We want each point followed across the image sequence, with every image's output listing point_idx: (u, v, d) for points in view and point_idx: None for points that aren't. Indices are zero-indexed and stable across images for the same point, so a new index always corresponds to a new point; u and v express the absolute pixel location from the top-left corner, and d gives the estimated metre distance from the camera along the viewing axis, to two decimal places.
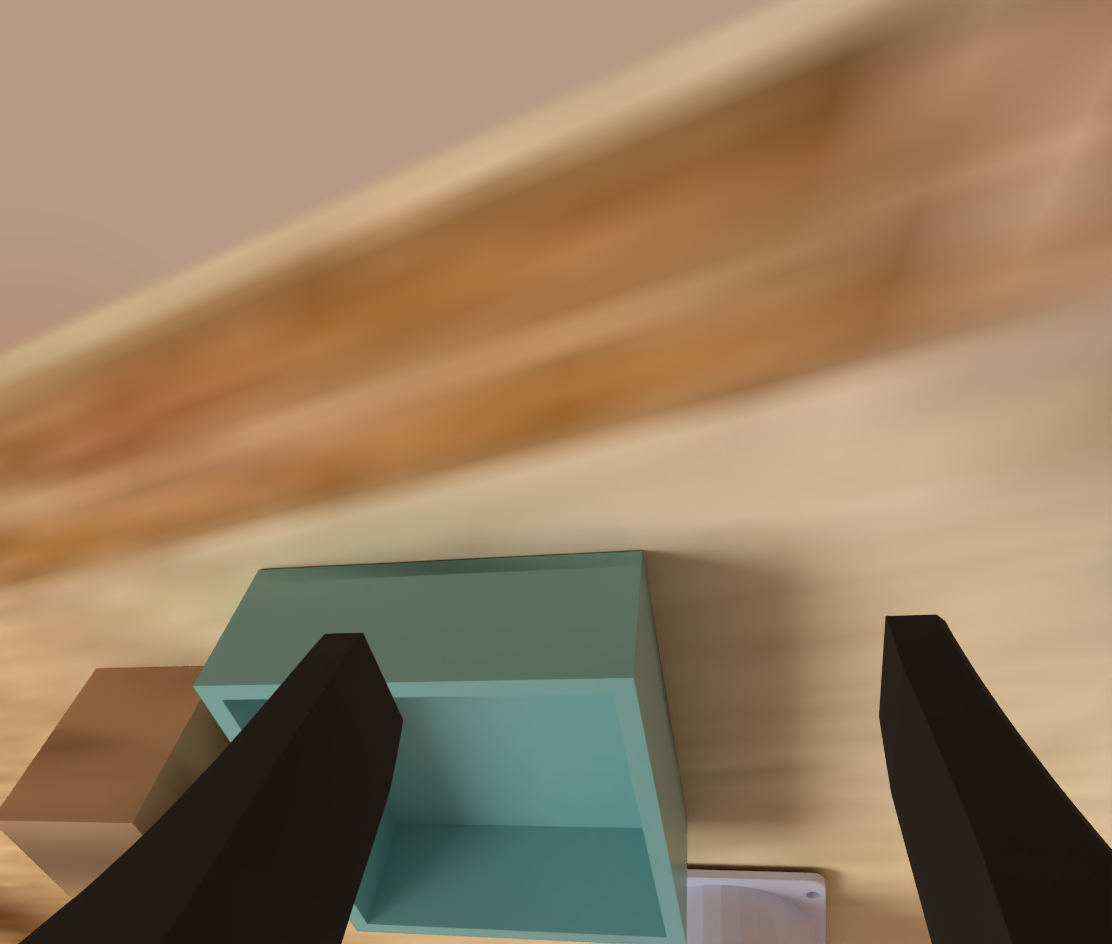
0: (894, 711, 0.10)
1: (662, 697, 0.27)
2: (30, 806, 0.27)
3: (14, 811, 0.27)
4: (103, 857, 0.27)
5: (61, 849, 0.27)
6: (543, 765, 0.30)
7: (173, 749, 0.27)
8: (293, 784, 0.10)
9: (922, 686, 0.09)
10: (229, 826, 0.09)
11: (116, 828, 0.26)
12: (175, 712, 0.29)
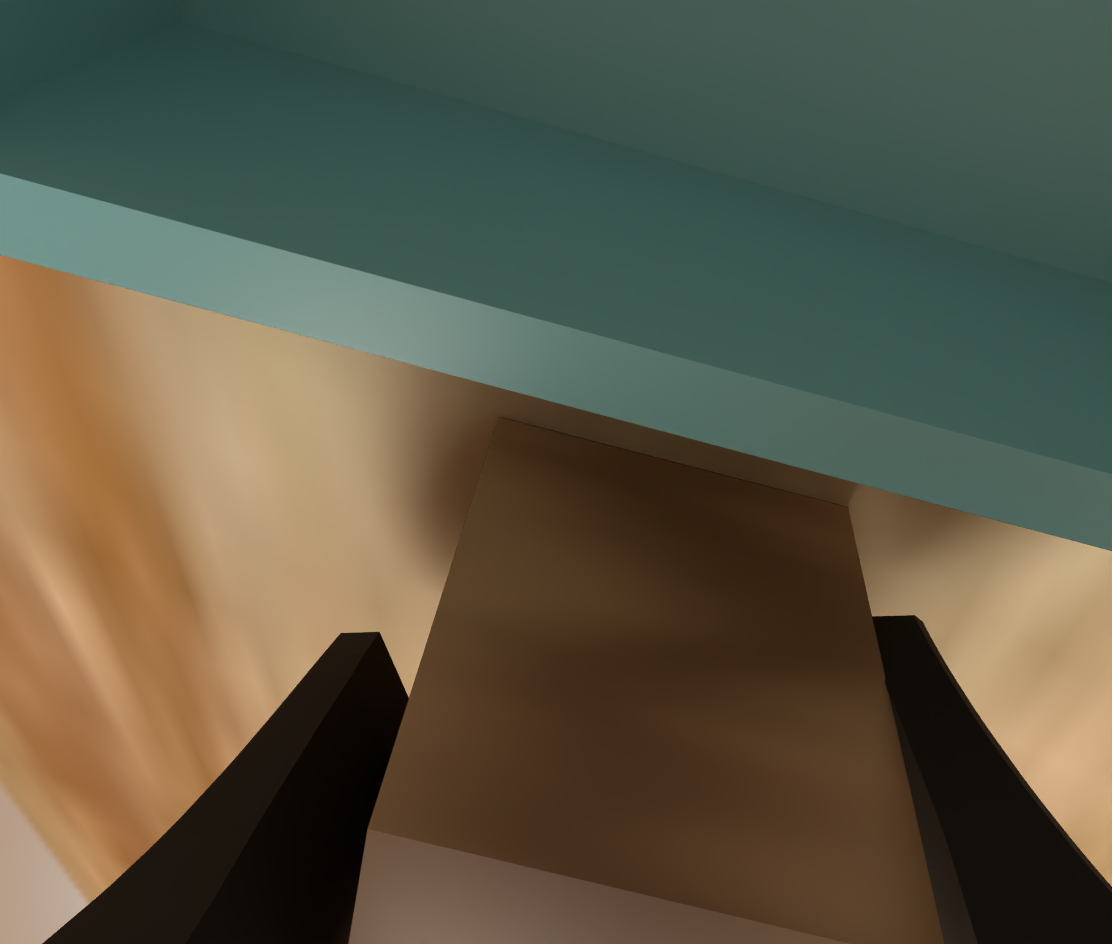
0: None
1: None
2: None
3: None
4: None
5: None
6: None
7: (443, 600, 0.09)
8: (312, 784, 0.10)
9: (897, 686, 0.09)
10: (250, 826, 0.09)
11: (393, 876, 0.07)
12: None
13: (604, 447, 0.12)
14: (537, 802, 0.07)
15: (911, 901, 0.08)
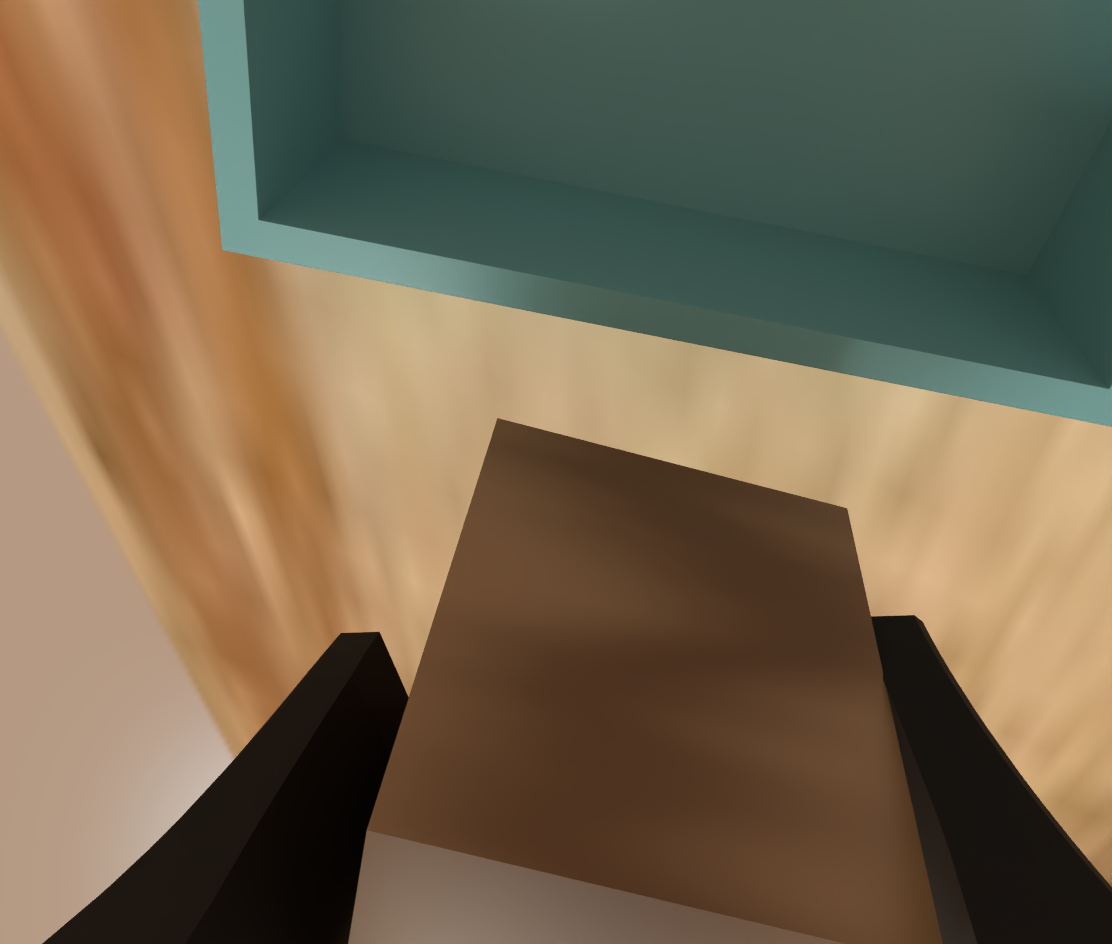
0: None
1: None
2: None
3: None
4: None
5: None
6: None
7: (442, 602, 0.09)
8: (312, 784, 0.10)
9: (897, 686, 0.09)
10: (250, 826, 0.09)
11: (394, 879, 0.07)
12: None
13: (602, 447, 0.12)
14: (536, 803, 0.07)
15: (910, 902, 0.08)
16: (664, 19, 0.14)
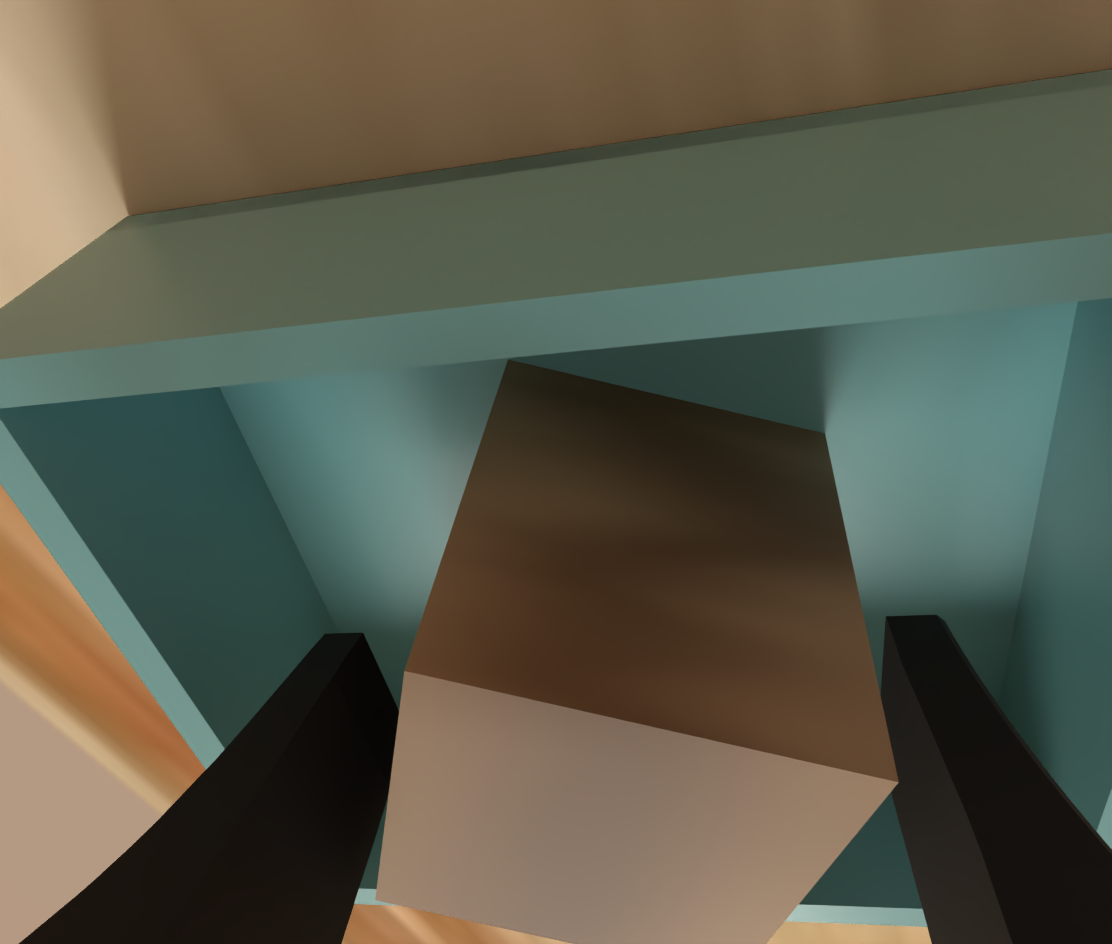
0: (894, 711, 0.10)
1: (460, 184, 0.11)
2: None
3: None
4: (567, 827, 0.10)
5: (511, 872, 0.11)
6: None
7: (462, 503, 0.10)
8: (293, 784, 0.10)
9: (922, 686, 0.09)
10: (229, 826, 0.09)
11: (427, 720, 0.09)
12: None
13: (603, 382, 0.13)
14: (547, 653, 0.09)
15: (868, 734, 0.09)
16: None
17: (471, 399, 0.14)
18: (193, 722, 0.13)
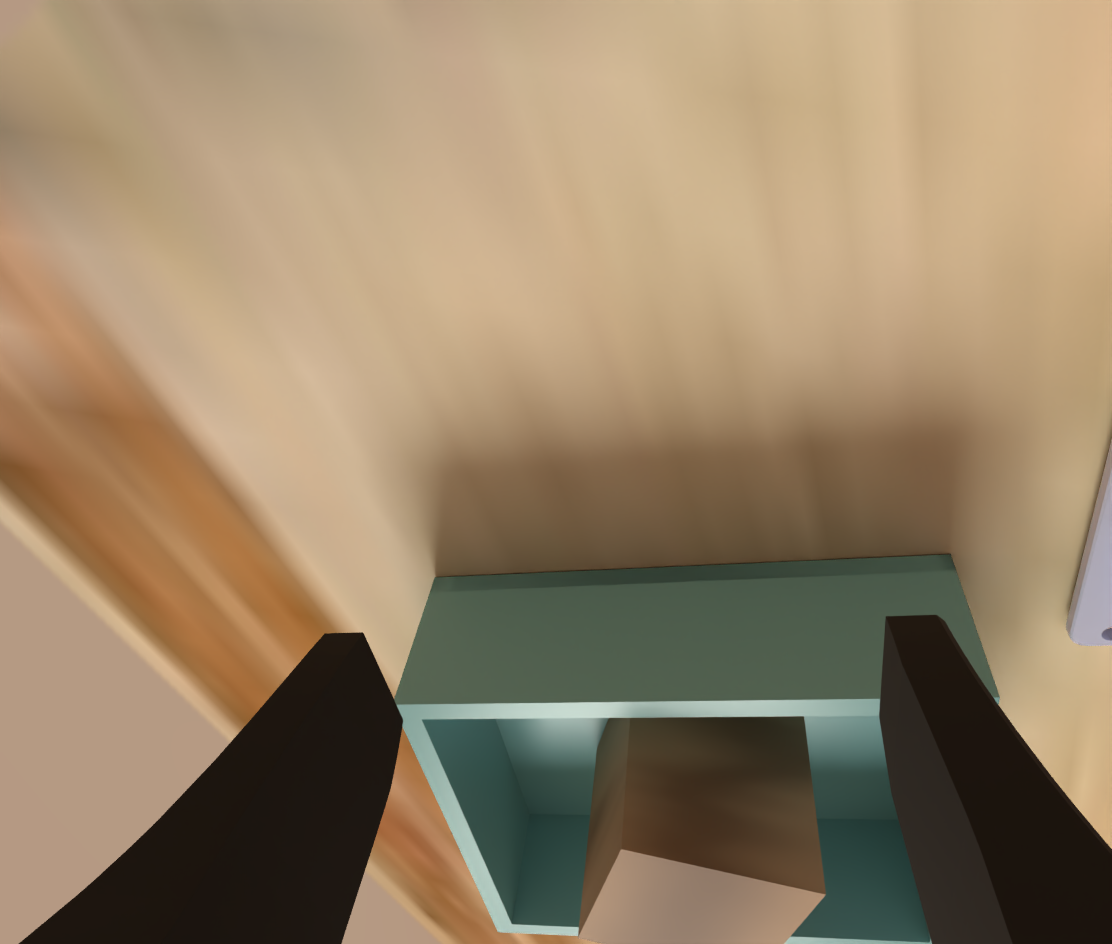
0: (894, 711, 0.10)
1: (621, 589, 0.23)
2: (587, 902, 0.23)
3: (583, 916, 0.23)
4: (680, 908, 0.22)
5: (650, 926, 0.22)
6: None
7: (628, 754, 0.22)
8: (293, 784, 0.10)
9: (922, 686, 0.09)
10: (229, 826, 0.09)
11: (626, 866, 0.21)
12: (624, 723, 0.24)
13: None
14: (677, 837, 0.21)
15: (814, 872, 0.21)
16: None
17: None
18: (468, 841, 0.25)
